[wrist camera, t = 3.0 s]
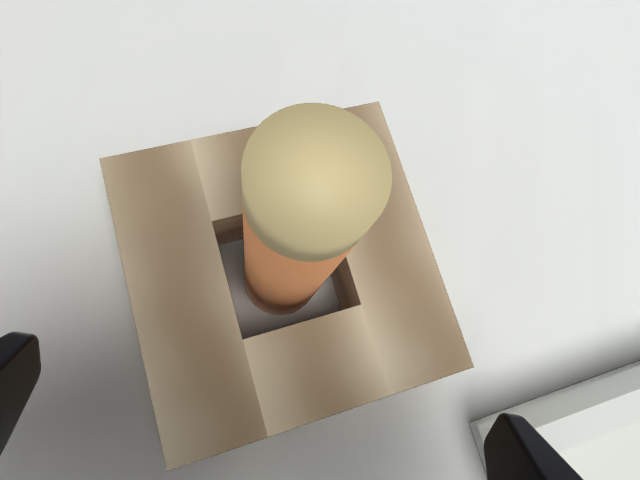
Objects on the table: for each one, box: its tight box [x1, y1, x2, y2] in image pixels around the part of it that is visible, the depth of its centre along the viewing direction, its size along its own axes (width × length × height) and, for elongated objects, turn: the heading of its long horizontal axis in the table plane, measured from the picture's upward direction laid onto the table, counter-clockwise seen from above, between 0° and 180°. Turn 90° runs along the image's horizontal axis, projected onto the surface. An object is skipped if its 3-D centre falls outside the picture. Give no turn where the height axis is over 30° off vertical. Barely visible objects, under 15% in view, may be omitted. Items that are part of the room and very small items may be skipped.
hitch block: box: [100, 102, 474, 471], centre depth 19 cm, size 11×11×4 cm
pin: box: [241, 103, 392, 315], centre depth 15 cm, size 3×3×12 cm
